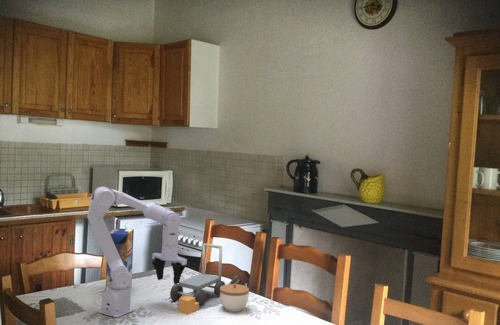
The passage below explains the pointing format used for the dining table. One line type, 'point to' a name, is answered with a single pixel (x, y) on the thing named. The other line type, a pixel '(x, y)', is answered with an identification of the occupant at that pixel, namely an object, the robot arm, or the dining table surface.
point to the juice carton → (122, 250)
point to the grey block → (237, 281)
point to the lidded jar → (234, 297)
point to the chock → (187, 305)
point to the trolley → (200, 281)
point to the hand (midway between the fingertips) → (168, 281)
